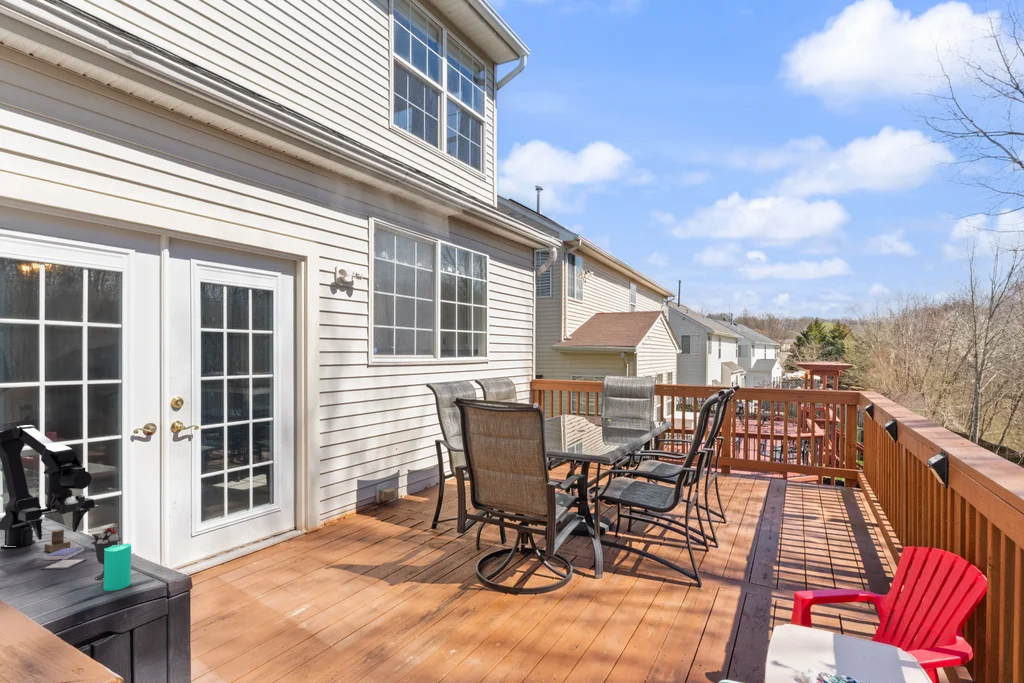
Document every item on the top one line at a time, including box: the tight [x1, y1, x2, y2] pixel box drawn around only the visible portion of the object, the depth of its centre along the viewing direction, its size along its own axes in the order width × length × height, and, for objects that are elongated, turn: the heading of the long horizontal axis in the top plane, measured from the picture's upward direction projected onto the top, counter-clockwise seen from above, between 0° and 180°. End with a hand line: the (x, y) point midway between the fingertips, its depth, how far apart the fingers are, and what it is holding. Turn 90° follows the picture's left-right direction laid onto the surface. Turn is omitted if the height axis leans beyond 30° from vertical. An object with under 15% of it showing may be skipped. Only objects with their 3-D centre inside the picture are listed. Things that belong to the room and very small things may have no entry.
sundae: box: [91, 521, 122, 579], centre depth 152 cm, size 7×7×15 cm
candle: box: [103, 542, 132, 592], centre depth 145 cm, size 6×6×12 cm
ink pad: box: [43, 547, 85, 561], centre depth 169 cm, size 7×7×1 cm
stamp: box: [43, 528, 71, 554], centre depth 175 cm, size 5×5×6 cm
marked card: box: [40, 558, 87, 570], centre depth 161 cm, size 8×8×1 cm
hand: (57, 535), depth 175 cm, fingers open, 9 cm apart
